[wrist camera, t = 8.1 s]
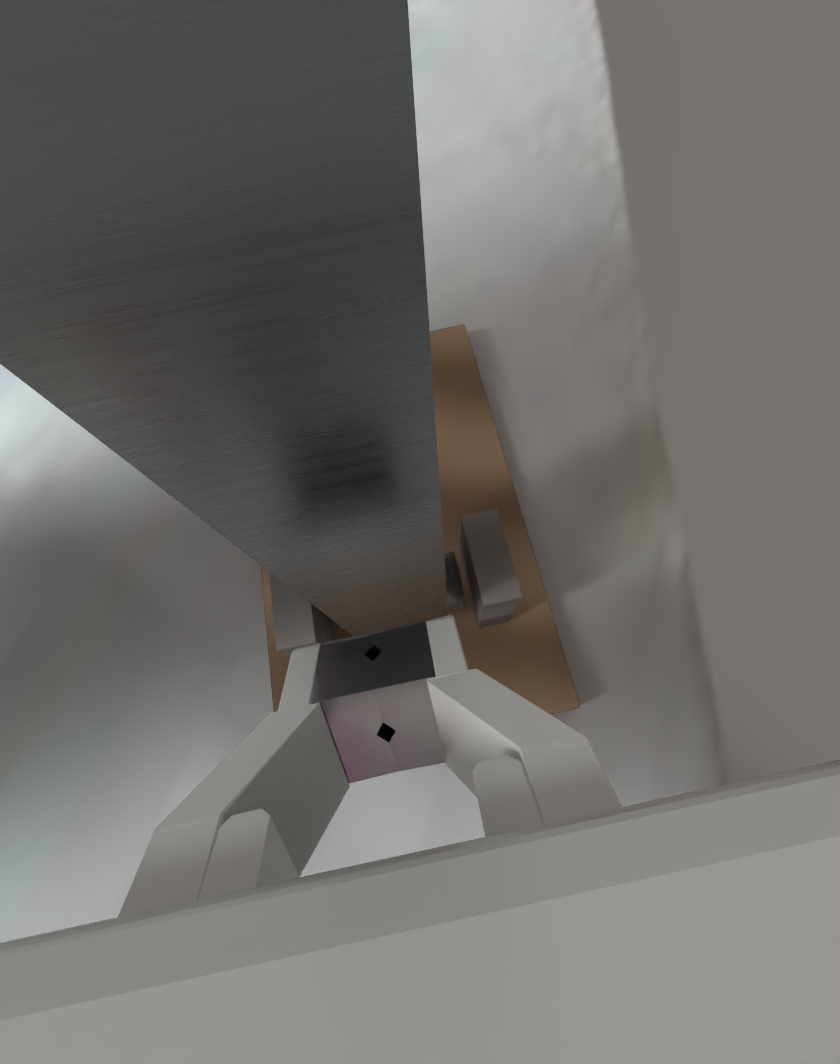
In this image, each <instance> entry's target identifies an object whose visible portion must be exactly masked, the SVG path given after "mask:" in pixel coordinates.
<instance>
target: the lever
mask: <svg viewBox="0 0 840 1064" xmlns="http://www.w3.org/2000/svg"><path fill="white" fill-rule="evenodd" d="M0 364H1V365H3V366H4V367H5V368H7V369H8V370H9V371H11V372H12V373H13V374H14V375H16V376H17V377H18V378H20V379H21V380H22V381H23V382H25V383H26V384H27V385H29V386H30V387H31V388H33V389H34V390H35V391H36V392H38V393H39V394H40V395H42V396H43V397H44V398H46V399H47V400H48V401H49V402H51V403H52V404H53V405H55V406H56V407H57V408H58V409H60V410H61V411H62V412H64V413H65V414H66V415H68V416H69V417H70V418H71V419H73V420H74V421H75V422H77V423H78V424H79V425H80V426H82V427H83V428H84V429H86V430H87V431H88V432H90V433H91V434H92V435H93V436H95V437H96V438H97V439H99V440H100V441H101V442H103V443H104V444H105V445H106V446H108V447H109V448H110V449H112V450H113V451H114V452H115V453H117V454H118V455H119V456H121V457H122V458H123V459H125V460H126V461H127V462H128V463H130V464H131V465H132V466H134V467H135V468H136V469H138V470H139V471H140V472H141V473H143V474H144V475H145V476H147V477H148V478H149V479H150V480H152V481H153V482H154V483H156V484H157V485H158V486H160V487H161V488H162V489H163V490H165V491H166V492H167V493H169V494H170V495H171V496H173V497H174V498H175V499H176V500H178V501H179V502H180V503H182V504H183V505H184V506H185V507H187V508H188V509H189V510H191V511H192V512H193V513H195V514H196V515H197V516H198V517H200V518H201V519H202V520H204V521H205V522H206V523H208V524H209V525H210V526H211V527H213V528H214V529H215V530H217V531H218V532H219V533H220V534H222V535H223V536H224V537H226V538H227V539H228V540H230V541H231V542H232V543H233V544H235V545H236V546H237V547H239V548H240V549H241V550H243V551H244V552H245V553H246V554H248V555H249V556H250V557H252V558H253V559H254V560H255V561H257V562H258V563H259V564H261V565H262V566H263V567H265V568H266V569H267V570H268V571H270V572H271V573H272V574H274V575H275V576H276V577H278V578H279V579H280V580H281V581H283V582H284V583H285V584H287V585H288V586H289V587H290V588H292V589H293V590H294V591H296V592H297V593H298V594H300V595H301V596H302V597H303V598H305V599H306V600H307V601H309V602H310V603H311V604H313V605H314V606H315V607H316V608H318V609H319V610H320V611H322V612H323V613H324V614H325V615H327V616H328V617H329V618H331V619H332V620H333V621H335V624H336V626H337V629H338V630H339V632H340V633H346V632H349V633H350V634H351V635H353V636H359V635H364V634H369V633H378V632H382V631H386V630H391V629H395V628H399V627H404V626H408V625H412V624H416V623H421V622H426V621H427V620H431V619H435V618H439V617H443V616H447V615H448V610H453V609H457V608H462V607H466V603H465V596H464V591H463V585H462V581H461V576H460V572H459V568H458V564H457V560H456V557H455V554H454V551H450V552H446V553H444V543H443V528H442V513H441V498H440V483H439V468H438V453H437V438H436V423H435V408H434V393H433V378H432V363H431V348H430V333H429V318H428V303H427V288H426V273H425V258H424V243H423V228H422V213H421V198H420V183H419V168H418V153H417V138H416V123H415V108H414V93H413V78H412V63H411V48H410V33H409V18H408V3H407V0H0ZM426 626H427V624H426Z"/></svg>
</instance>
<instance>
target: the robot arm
mask: <svg viewBox="0 0 840 1064" xmlns="http://www.w3.org/2000/svg"><path fill="white" fill-rule="evenodd" d="M426 624H427V626H426ZM445 762H446V764H447V766H448V767H449V768H450V769H451V770H452V771H453V772H454V773H455V774H456V775H457V776H458V778H459V779H460V780H461V781H462V782H463V783H464V784H465V785H466V786H467V787H468V788H469V789H470V790H471V792H472V793H473V794H474V795H475V796H476V797H477V798H478V802H479V807H480V812H481V817H482V822H483V827H484V832H485V837H483V838H479V839H474V840H469V841H465V842H460V843H456V844H451V845H446V846H442V847H437V848H433V849H428V850H423V851H419V852H414V853H410V854H405V855H401V856H396V857H391V858H387V859H382V860H378V861H373V862H369V863H364V864H359V865H355V866H350V867H346V868H341V869H337V870H332V871H327V872H323V873H318V874H314V875H309V876H304V877H300V878H299V876H300V875H301V873H302V871H303V869H304V867H305V866H306V864H307V862H308V860H309V858H310V857H311V855H312V853H313V851H314V849H315V848H316V846H317V844H318V842H319V840H320V839H321V837H322V835H323V833H324V831H325V830H326V828H327V826H328V824H329V822H330V821H331V819H332V817H333V815H334V813H335V812H336V810H337V808H338V806H339V804H340V803H341V801H342V799H343V797H344V795H345V794H346V792H347V790H348V788H349V784H348V783H352V782H357V781H361V780H365V779H369V778H373V777H377V776H381V775H385V774H389V773H393V772H397V771H402V770H408V769H413V768H418V767H424V766H429V765H434V764H440V763H445ZM0 1064H840V760H836V761H832V762H827V763H823V764H818V765H814V766H809V767H804V768H800V769H795V770H790V771H786V772H781V773H777V774H772V775H768V776H763V777H759V778H754V779H749V780H745V781H740V782H736V783H731V784H726V785H722V786H717V787H713V788H708V789H704V790H699V791H694V792H690V793H685V794H681V795H676V796H672V797H667V798H662V799H658V800H653V801H649V802H644V803H640V804H635V805H630V806H626V807H622V806H621V804H620V802H619V800H618V798H617V796H616V794H615V792H614V790H613V788H612V786H611V784H610V783H609V781H608V779H607V777H606V775H605V773H604V771H603V769H602V767H601V765H600V763H599V761H598V759H597V757H596V755H595V753H594V751H593V749H592V748H591V746H590V744H589V742H588V740H587V738H586V736H584V735H582V734H581V733H579V732H578V731H576V730H574V729H573V728H571V727H570V726H568V725H566V724H565V723H563V722H562V721H560V720H558V719H557V718H555V717H554V716H552V715H550V714H549V713H547V712H546V711H544V710H542V709H541V708H539V707H538V706H536V705H534V704H533V703H531V702H530V701H528V700H526V699H525V698H523V697H522V696H520V695H518V694H517V693H515V692H514V691H512V690H510V689H509V688H507V687H506V686H504V685H502V684H501V683H499V682H498V681H496V680H494V679H493V678H491V677H490V676H488V675H486V674H485V673H483V672H482V671H480V670H478V669H472V670H468V666H467V662H466V659H465V655H464V652H463V648H462V645H461V641H460V637H459V634H458V630H457V627H456V623H455V620H454V617H453V616H452V615H447V616H443V617H439V618H435V619H431V620H427V621H426V622H421V623H416V624H412V625H408V626H404V627H399V628H395V629H391V630H386V631H382V632H378V633H369V634H364V635H359V636H354V637H349V638H343V639H338V640H333V641H328V642H323V643H322V644H321V643H317V644H313V645H308V646H304V647H299V648H296V649H295V650H294V651H293V652H292V654H291V658H290V662H289V666H288V670H287V674H286V679H285V683H284V687H283V691H282V695H281V700H280V704H279V708H278V711H276V712H272V713H269V714H268V715H267V716H266V717H265V718H264V719H263V720H262V721H261V722H260V723H259V724H258V725H257V726H256V727H255V728H254V729H253V730H252V731H251V732H250V733H249V734H248V735H247V736H246V737H245V738H244V740H243V741H242V742H241V743H240V744H239V745H238V746H237V747H236V748H235V749H234V750H233V751H232V752H231V753H230V754H229V755H228V756H227V757H226V758H225V759H224V760H223V761H222V762H221V763H220V764H219V765H218V766H217V767H216V768H215V769H214V770H213V771H212V772H211V773H210V774H209V775H208V776H207V777H206V778H205V779H204V780H203V781H202V782H201V783H200V784H199V785H198V786H197V787H196V788H195V789H194V790H193V791H192V792H191V793H190V794H189V795H188V796H187V797H186V798H185V799H184V800H183V801H182V802H181V803H180V804H179V805H178V806H177V807H176V809H175V810H174V811H173V812H172V813H171V814H170V815H169V816H168V817H167V818H166V819H165V820H164V821H163V822H162V823H161V824H160V825H159V826H158V827H157V828H156V829H155V831H154V833H153V836H152V838H151V840H150V843H149V845H148V848H147V850H146V852H145V855H144V857H143V859H142V862H141V864H140V866H139V869H138V871H137V873H136V876H135V878H134V881H133V883H132V885H131V888H130V890H129V892H128V895H127V897H126V899H125V902H124V904H123V907H122V909H121V911H120V914H119V916H118V917H117V918H112V919H108V920H103V921H98V922H94V923H89V924H85V925H80V926H76V927H71V928H66V929H62V930H57V931H53V932H48V933H43V934H39V935H34V936H30V937H25V938H21V939H16V940H11V941H7V942H2V943H0Z"/></svg>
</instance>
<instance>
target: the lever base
mask: <svg viewBox="0 0 840 1064" xmlns="http://www.w3.org/2000/svg"><path fill="white" fill-rule="evenodd" d="M429 333H430V348H431V363H432V378H433V393H434V408H435V423H436V438H437V453H438V468H439V483H440V498H441V513H442V528H443V543H444V553H446V552H450V551H454V554H455V557H456V560H457V564H458V568H459V572H460V576H461V581H462V585H463V591H464V596H465V603H466V607H462V608H457V609H453V610H448V615H452V616H453V617H454V620H455V623H456V627H457V630H458V634H459V637H460V641H461V645H462V648H463V652H464V655H465V659H466V662H467V666H468V670H472V669H478V670H480V671H482V672H483V673H485V674H486V675H488V676H490V677H491V678H493V679H494V680H496V681H498V682H499V683H501V684H502V685H504V686H506V687H507V688H509V689H510V690H512V691H514V692H515V693H517V694H518V695H520V696H522V697H523V698H525V699H526V700H528V701H530V702H531V703H533V704H534V705H536V706H538V707H539V708H541V709H542V710H544V711H546V712H547V713H549V714H553V713H558V712H562V711H567V710H571V709H576V708H580V705H579V702H578V698H577V695H576V692H575V689H574V685H573V682H572V679H571V675H570V672H569V669H568V665H567V662H566V659H565V655H564V652H563V649H562V646H561V642H560V639H559V636H558V632H557V629H556V626H555V622H554V619H553V616H552V612H551V609H550V606H549V603H548V599H547V596H546V593H545V589H544V586H543V583H542V579H541V576H540V573H539V570H538V566H537V563H536V560H535V556H534V553H533V550H532V546H531V543H530V540H529V536H528V533H527V530H526V527H525V523H524V520H523V517H522V513H521V510H520V507H519V503H518V500H517V497H516V493H515V490H514V487H513V484H512V480H511V477H510V474H509V470H508V467H507V464H506V460H505V457H504V454H503V451H502V447H501V444H500V441H499V437H498V434H497V431H496V427H495V424H494V421H493V417H492V414H491V411H490V408H489V404H488V401H487V398H486V394H485V391H484V388H483V384H482V381H481V378H480V374H479V371H478V368H477V365H476V361H475V358H474V355H473V351H472V348H471V345H470V341H469V338H468V335H467V332H466V328H465V325H464V324H463V325H459V326H454V327H449V328H444V329H440V330H435V331H430V332H429ZM261 573H262V584H263V595H264V607H265V618H266V629H267V641H268V652H269V663H270V675H271V686H272V697H273V709H274V712H276V711H278V708H279V704H280V700H281V695H282V691H283V687H284V683H285V679H286V674H287V670H288V666H289V662H290V658H291V654H292V652H293V651H294V650H295V649H296V648H299V647H304V646H308V645H313V644H317V643H321V644H322V643H323V642H328V641H333V640H338V639H343V638H349V637H354V636H353V635H351V634H350V633H349V632H346V633H340V632H339V630H338V629H337V626H336V624H335V621H333V620H332V619H331V618H329V617H328V616H327V615H325V614H324V613H323V612H322V611H320V610H319V609H318V608H316V607H315V606H314V605H313V604H311V603H310V602H309V601H307V600H306V599H305V598H303V597H302V596H301V595H300V594H298V593H297V592H296V591H294V590H293V589H292V588H290V587H289V586H288V585H287V584H285V583H284V582H283V581H281V580H280V579H279V578H278V577H276V576H275V575H274V574H272V573H271V572H270V571H268V570H267V569H266V568H265V567H263V566H262V565H261Z"/></svg>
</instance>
